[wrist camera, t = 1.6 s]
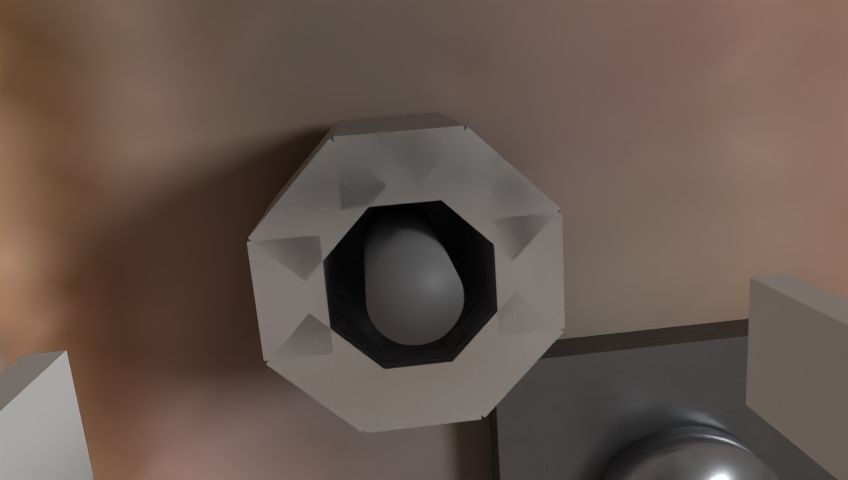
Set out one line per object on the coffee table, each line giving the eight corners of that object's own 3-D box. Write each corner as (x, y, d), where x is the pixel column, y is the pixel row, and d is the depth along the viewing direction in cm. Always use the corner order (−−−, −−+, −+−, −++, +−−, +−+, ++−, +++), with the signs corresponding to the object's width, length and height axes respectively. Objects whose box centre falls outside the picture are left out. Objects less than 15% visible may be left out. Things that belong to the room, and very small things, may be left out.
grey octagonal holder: (265, 126, 22) (232, 145, 16) (507, 106, 23) (559, 117, 17) (295, 354, 24) (275, 443, 18) (517, 330, 24) (566, 409, 19)
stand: (302, 150, 23) (275, 189, 15) (474, 136, 24) (531, 166, 16) (321, 314, 25) (305, 424, 17) (483, 297, 25) (539, 397, 17)
